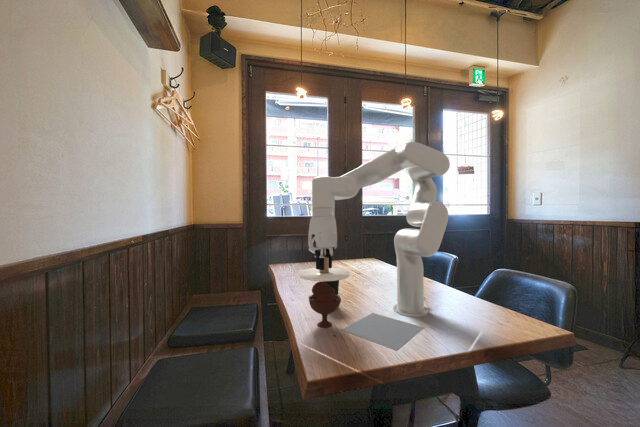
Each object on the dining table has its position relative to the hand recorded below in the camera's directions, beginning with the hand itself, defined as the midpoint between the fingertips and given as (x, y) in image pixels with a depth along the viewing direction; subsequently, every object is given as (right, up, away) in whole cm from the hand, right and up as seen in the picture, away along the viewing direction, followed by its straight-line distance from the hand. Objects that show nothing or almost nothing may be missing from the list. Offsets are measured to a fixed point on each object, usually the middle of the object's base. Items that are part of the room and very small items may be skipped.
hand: (323, 268), depth 86 cm
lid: (0, -2, 0) cm, 2 cm away
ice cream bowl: (0, -20, 0) cm, 20 cm away
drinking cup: (+3, -20, +18) cm, 27 cm away
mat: (+19, -19, -4) cm, 27 cm away
